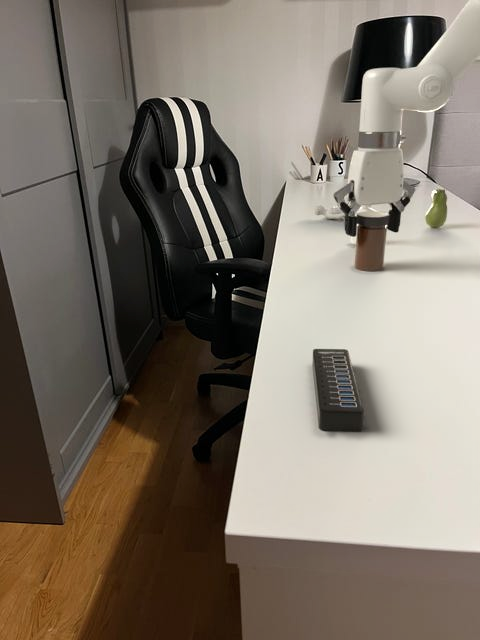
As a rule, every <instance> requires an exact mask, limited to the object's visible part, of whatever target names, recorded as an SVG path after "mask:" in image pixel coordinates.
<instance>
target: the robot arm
mask: <svg viewBox="0 0 480 640" xmlns="http://www.w3.org/2000/svg"><path fill="white" fill-rule="evenodd" d="M479 58H480V0H468V1H467V2H466V3H465V5H464V6H463V7H462V8H461V10H460V12H459V13H458V14H457V16H456V17H455V19H454V20H453V21H452V23H451V24H450V25H449V26H448V28H446V30H445V32H444V33H443V34H442V35H441V37H440V38H439V39H438V40H437V41H436V43H435V44H434V45H433V46H432V47H431V49H430V50H429V51H428V52H427V54H426V55H425V56H424V57H423V59H421V61H420V62H419V63H418V64H417V66H414V67H407V68H406V67H405V68H400V67H378V68H371V69H368V70H367V71H365V72H364V74H363V77H362V84H361V99H360V114H359V128H358V129H359V130H358V131H359V132H358V147H357V149H354V150H353V153H352V156H351V160H350V164H349V168H348V173H347V174H348V175H347V182H346V184H345V185H344V186H342V187H341V188H340V189H338V190H336V191H335V192H334V193H333V195H332V196H333V199H334V200H335V202H336V204H337V207H339V208H340V209H341V210H342V211H343V213H344V214H345V218H344V232H345V235H347V236H349V237H350V238H351V237H355V236H356V231H357V216H355V214H356V212H357V211H358V209H359V208H360V207H361V205H371V206H373V205H386V204H388V205H389V207H390V209H392V210H390V209H389V210H388V212H387V213H388V214H389V224H388V225H386V226H387V231H390V232H392V233H395V234H396V233H399V231H400V226H401V218H402V213H403V212H405V208H406V207H407V206H408V205H409V204H410V202H411V199H412V197H413V196H414V195H415V192H416V188H415V187H414V186H412V185H411V184H409V183H408V182H406V181H404V174H405V173H404V172H405V171H404V170H405V169H404V168H405V167H404V156H403V149H401V148H400V146H401V143H404V142H405V141H406V139H407V138H406V135H405V134H402V126H403V125H402V124H403V114H404V110H405V111H417V112H421V113H430V112H434V111H437V110H439V109H441V108H442V107H444V106H445V105H446V104H447V103H448V102H449V100H450V99H451V97H452V95H453V93H454V88H455V83H456V82H457V81H458V80H459V79H460V78H461V77H462V75H463V74H464V73H465V72H466V71H467V70H468V69H469V68H470V67H471V66H472V65H473V64H474V63H475V62H476V61H477V60H478V59H479ZM403 191H404V192H403ZM345 197H346V201H347V202H348V203H347V202H346V201H345Z"/></svg>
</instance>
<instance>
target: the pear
mask: <svg viewBox="0 0 480 640" xmlns="http://www.w3.org/2000/svg"><path fill="white" fill-rule="evenodd" d="M430 198H431V205H430V207H429V208H428V211H426V213H425V216H424V217H425V218H424V219H425V222H426V225H428V226H429V227H430V228H440V227H443V225H444V224H445V223H446V222H447V218H448V205H447V201H448V196H447V193H446V189H441V188H438V189H435V190H432V191H431V195H430Z"/></svg>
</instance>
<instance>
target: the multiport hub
mask: <svg viewBox="0 0 480 640" xmlns="http://www.w3.org/2000/svg"><path fill="white" fill-rule="evenodd" d="M311 363H312V364H311V366H312V367H311V368H312V376H313V385H314V394H315V396H314V397H315V405H316V414H317V415H316V416H317V424H318V429H319V430H320V431H325V432H327V431H328V432H353V433H354V432H356V433H357V432H358V433H359V432H362V431H363V421H364V407H363V403H362V400H361V399H362V398H361V395H360V392H359V387H358V384H357V379H356V375H355V372H354V368H353V364H352V359H351V357H350V352H349V350H348V349H345V348H314V349H312V362H311Z"/></svg>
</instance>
